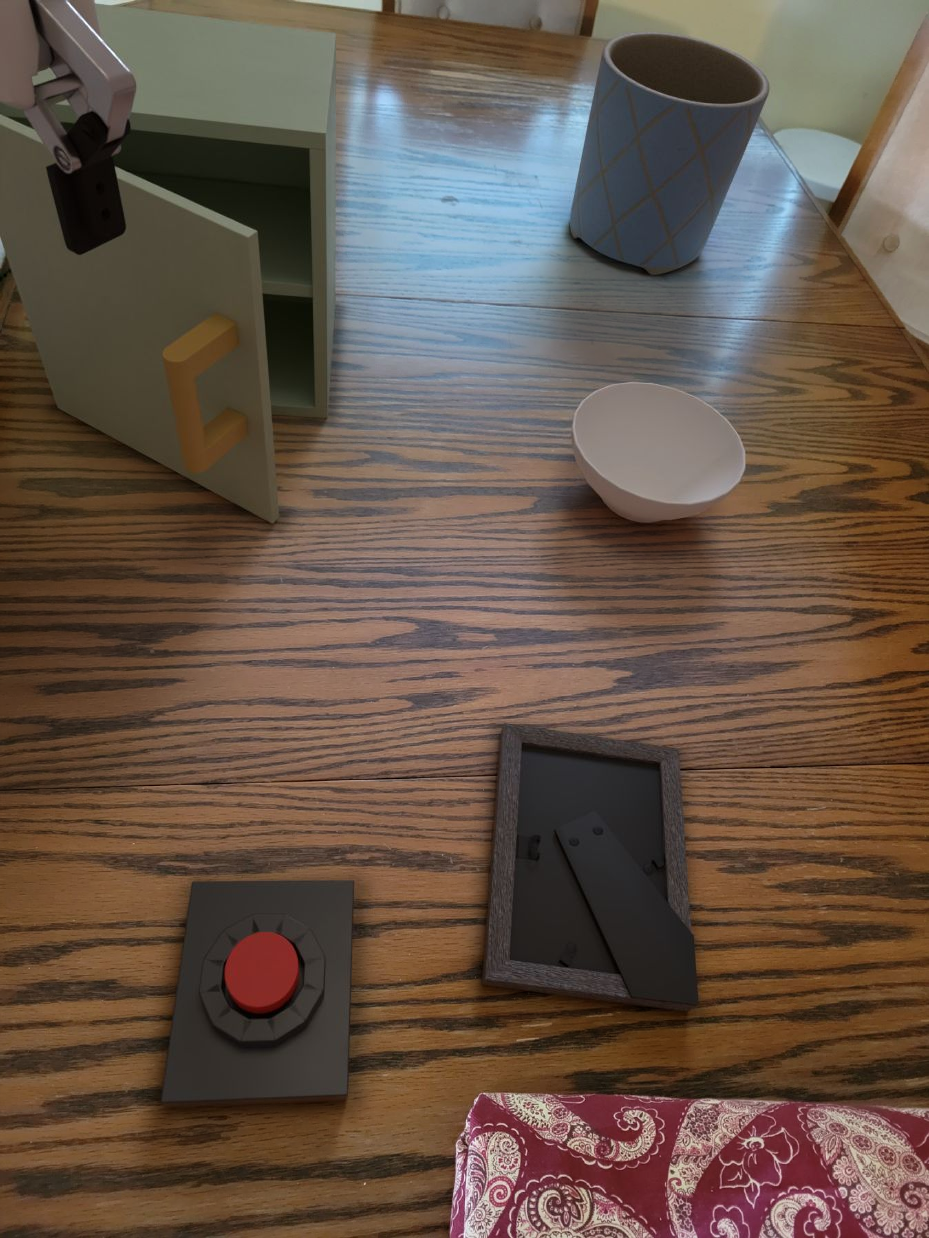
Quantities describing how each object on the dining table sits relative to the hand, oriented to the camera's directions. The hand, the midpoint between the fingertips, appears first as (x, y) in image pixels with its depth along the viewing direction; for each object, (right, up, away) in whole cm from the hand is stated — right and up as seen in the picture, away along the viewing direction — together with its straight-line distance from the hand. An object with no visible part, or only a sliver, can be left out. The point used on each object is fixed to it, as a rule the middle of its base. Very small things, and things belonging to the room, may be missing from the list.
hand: (25, 202), depth 41 cm
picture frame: (+30, -38, +17) cm, 51 cm away
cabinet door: (-7, -8, +32) cm, 34 cm away
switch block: (+10, -43, +9) cm, 45 cm away
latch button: (+10, -41, +6) cm, 43 cm away
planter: (+44, +29, +68) cm, 86 cm away
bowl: (+38, -9, +39) cm, 56 cm away
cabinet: (-4, +7, +44) cm, 44 cm away
